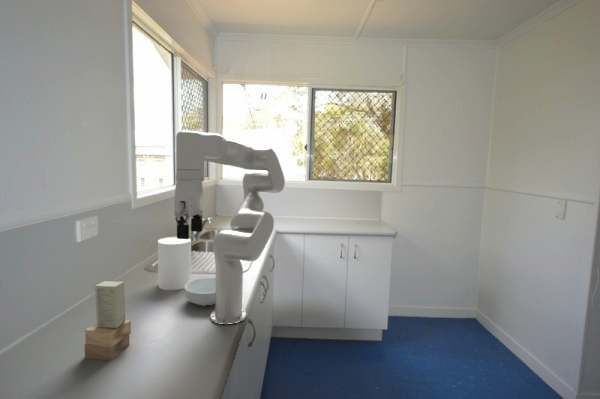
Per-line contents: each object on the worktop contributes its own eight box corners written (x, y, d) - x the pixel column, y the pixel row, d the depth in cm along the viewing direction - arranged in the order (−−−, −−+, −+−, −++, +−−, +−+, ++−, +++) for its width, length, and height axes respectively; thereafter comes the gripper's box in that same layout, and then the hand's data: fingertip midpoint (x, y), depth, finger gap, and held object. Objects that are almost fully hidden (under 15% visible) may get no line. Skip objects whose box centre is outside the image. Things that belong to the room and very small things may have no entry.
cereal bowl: (216, 314, 122) (217, 295, 121) (175, 308, 125) (175, 290, 125) (234, 296, 139) (235, 279, 138) (198, 291, 142) (198, 275, 141)
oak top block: (107, 329, 101) (107, 316, 101) (130, 333, 100) (130, 320, 99) (85, 343, 93) (85, 329, 93) (110, 347, 92) (110, 333, 91)
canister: (169, 292, 139) (169, 245, 137) (152, 284, 147) (151, 240, 145) (197, 284, 150) (197, 240, 147) (179, 276, 158) (179, 235, 155)
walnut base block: (104, 342, 101) (104, 329, 101) (129, 345, 100) (129, 332, 100) (84, 357, 93) (84, 344, 93) (111, 361, 92) (111, 347, 92)
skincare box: (125, 321, 98) (125, 281, 97) (116, 328, 94) (116, 286, 93) (105, 320, 99) (104, 280, 98) (95, 327, 94) (94, 285, 93)
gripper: (189, 173, 104) (189, 228, 106) (162, 176, 87) (163, 241, 89) (213, 175, 103) (212, 229, 105) (190, 178, 86) (190, 243, 88)
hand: (190, 234), depth 97 cm, fingers open, 9 cm apart
